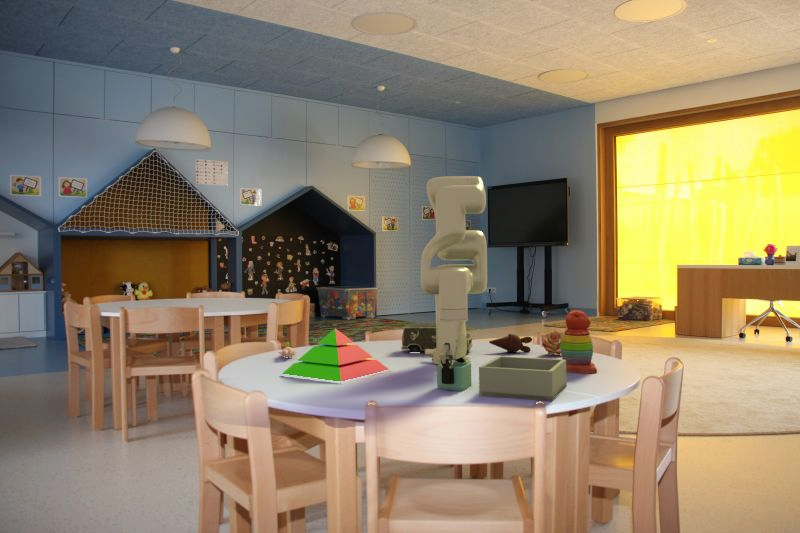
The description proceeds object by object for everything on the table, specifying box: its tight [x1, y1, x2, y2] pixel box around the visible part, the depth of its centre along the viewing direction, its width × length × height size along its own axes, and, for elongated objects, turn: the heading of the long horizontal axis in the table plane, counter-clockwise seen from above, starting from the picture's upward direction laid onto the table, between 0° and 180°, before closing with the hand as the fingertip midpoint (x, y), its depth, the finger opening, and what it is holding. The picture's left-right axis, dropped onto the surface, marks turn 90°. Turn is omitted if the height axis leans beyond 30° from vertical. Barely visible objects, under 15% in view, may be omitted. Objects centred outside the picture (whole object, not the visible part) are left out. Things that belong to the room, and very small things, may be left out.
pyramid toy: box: [281, 327, 389, 381], centre depth 193 cm, size 25×25×14 cm
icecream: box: [488, 333, 533, 354], centre depth 228 cm, size 7×7×15 cm
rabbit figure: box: [278, 341, 297, 358], centre depth 225 cm, size 6×6×15 cm
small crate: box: [436, 362, 472, 392], centre depth 171 cm, size 7×7×6 cm
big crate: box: [478, 355, 567, 402], centre depth 165 cm, size 18×18×7 cm
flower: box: [540, 329, 564, 356], centre depth 222 cm, size 10×9×8 cm
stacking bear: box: [560, 309, 598, 374], centre depth 192 cm, size 11×10×18 cm
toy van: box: [400, 323, 473, 353], centre depth 232 cm, size 11×25×10 cm, turn 77°
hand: (454, 380), depth 171 cm, fingers open, 9 cm apart
